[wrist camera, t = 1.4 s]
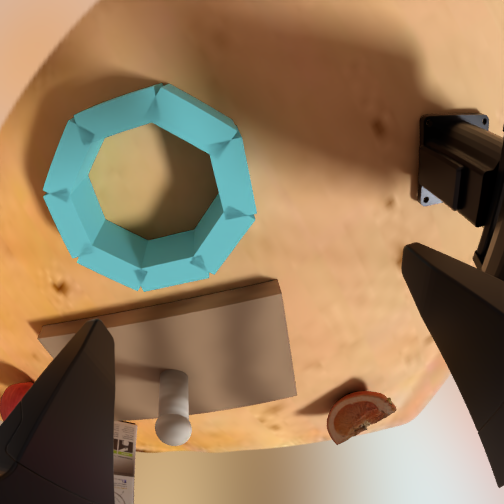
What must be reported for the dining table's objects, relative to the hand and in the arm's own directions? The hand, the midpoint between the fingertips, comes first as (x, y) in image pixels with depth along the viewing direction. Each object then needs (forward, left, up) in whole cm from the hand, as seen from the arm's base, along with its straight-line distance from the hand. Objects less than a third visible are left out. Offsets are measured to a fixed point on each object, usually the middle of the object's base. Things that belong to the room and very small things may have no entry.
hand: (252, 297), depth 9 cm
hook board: (+8, +16, -11) cm, 21 cm away
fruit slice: (-9, +30, -11) cm, 33 cm away
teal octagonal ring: (+4, 0, -11) cm, 12 cm away
